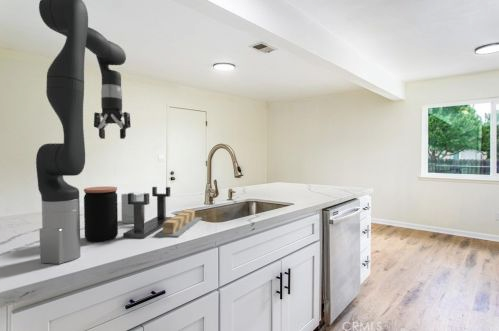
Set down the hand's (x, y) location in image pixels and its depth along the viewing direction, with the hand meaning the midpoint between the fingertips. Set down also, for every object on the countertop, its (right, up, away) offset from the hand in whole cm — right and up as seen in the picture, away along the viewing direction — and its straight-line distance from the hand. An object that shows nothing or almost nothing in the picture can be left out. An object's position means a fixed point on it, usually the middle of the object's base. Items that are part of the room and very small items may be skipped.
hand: (112, 138), depth 119 cm
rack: (+15, -36, +2) cm, 39 cm away
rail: (+26, -36, +4) cm, 44 cm away
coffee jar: (+2, -37, -13) cm, 39 cm away
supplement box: (+3, -36, +13) cm, 38 cm away
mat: (+26, -36, +4) cm, 45 cm away
